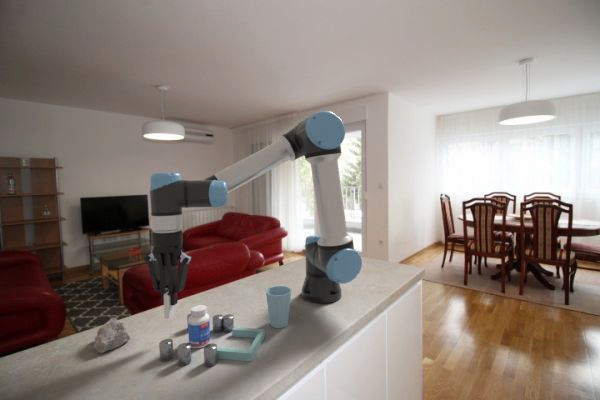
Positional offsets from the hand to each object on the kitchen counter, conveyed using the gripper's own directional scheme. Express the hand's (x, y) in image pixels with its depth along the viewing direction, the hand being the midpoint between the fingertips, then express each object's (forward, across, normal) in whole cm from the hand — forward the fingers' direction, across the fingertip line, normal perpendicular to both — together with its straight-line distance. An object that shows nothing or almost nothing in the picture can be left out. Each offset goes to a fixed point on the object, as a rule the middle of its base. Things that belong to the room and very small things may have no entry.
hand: (170, 316), depth 76 cm
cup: (+7, -27, -13) cm, 31 cm away
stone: (+8, +15, +3) cm, 17 cm away
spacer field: (+7, -8, 0) cm, 11 cm away
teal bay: (+7, -20, 0) cm, 21 cm away
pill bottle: (+7, -8, 0) cm, 11 cm away
